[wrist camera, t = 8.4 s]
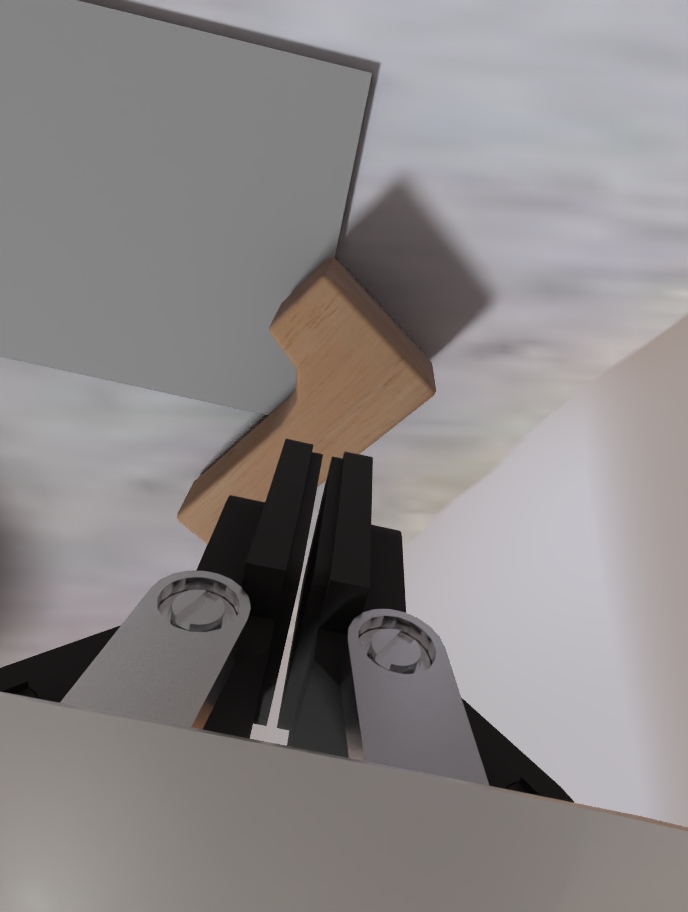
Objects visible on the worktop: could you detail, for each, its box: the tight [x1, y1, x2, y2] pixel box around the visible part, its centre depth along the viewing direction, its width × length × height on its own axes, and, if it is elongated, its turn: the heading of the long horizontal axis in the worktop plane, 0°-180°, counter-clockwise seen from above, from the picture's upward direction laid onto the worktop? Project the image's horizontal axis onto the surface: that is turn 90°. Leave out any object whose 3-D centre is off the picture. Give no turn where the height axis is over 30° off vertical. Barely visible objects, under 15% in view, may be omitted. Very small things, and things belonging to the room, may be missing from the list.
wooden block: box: [177, 257, 436, 544], centre depth 39 cm, size 9×4×18 cm
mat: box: [0, 0, 372, 415], centre depth 37 cm, size 20×20×1 cm
